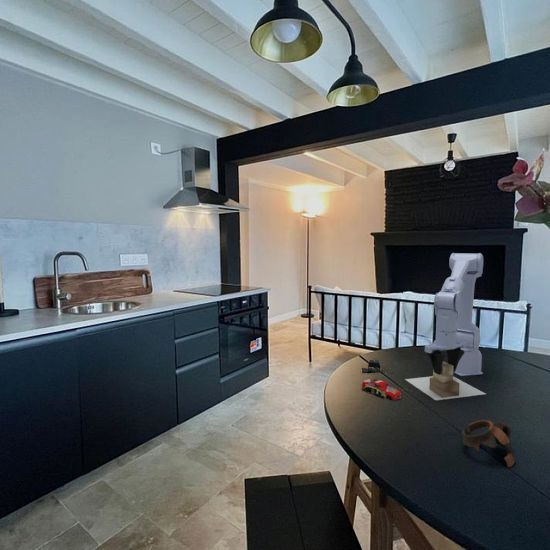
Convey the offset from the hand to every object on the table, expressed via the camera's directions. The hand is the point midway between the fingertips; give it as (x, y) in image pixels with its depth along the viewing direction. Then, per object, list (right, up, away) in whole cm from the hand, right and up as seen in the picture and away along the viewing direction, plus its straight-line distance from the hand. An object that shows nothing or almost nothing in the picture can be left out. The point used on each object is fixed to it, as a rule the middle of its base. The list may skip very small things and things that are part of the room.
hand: (444, 372), depth 105 cm
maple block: (0, -3, +1) cm, 3 cm away
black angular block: (-16, -6, +20) cm, 26 cm away
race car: (-20, -8, +2) cm, 21 cm away
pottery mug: (-4, -10, -29) cm, 31 cm away
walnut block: (0, -7, +1) cm, 7 cm away
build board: (+2, -7, +5) cm, 9 cm away
